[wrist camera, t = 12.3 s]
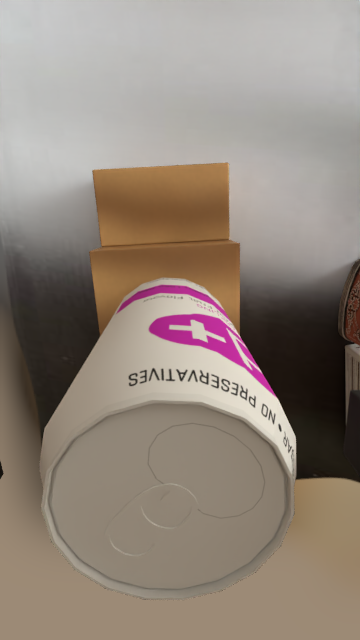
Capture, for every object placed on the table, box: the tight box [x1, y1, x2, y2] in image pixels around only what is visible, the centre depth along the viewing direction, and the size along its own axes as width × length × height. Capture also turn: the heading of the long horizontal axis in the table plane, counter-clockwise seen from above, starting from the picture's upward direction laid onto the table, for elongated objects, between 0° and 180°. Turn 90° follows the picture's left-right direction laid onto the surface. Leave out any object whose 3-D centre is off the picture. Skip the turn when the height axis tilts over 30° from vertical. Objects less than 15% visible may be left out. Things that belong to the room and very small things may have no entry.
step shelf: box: [89, 163, 240, 336], centre depth 25 cm, size 23×10×12 cm, turn 3°
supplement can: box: [39, 278, 296, 600], centre depth 16 cm, size 8×8×15 cm
